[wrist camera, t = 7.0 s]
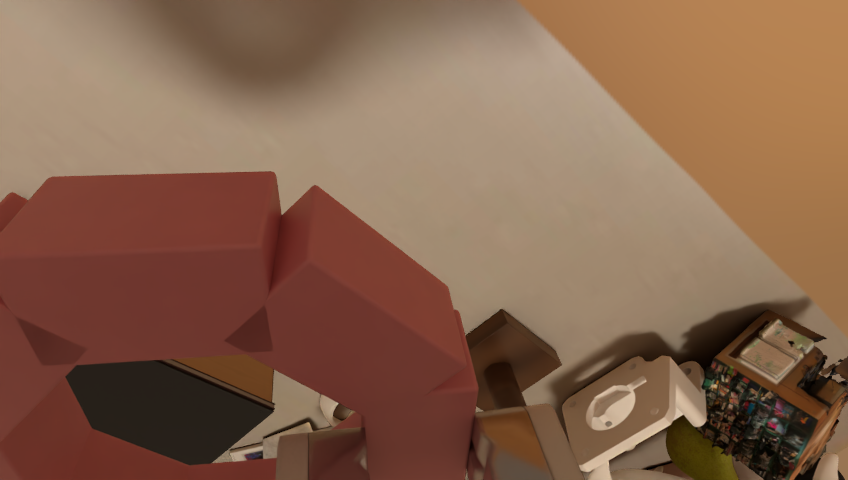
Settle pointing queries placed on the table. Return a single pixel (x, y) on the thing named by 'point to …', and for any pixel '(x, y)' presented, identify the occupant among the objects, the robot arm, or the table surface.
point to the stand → (507, 361)
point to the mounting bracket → (632, 407)
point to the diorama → (272, 441)
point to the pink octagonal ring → (220, 319)
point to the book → (176, 402)
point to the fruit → (697, 453)
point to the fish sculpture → (602, 476)
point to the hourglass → (674, 471)
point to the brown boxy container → (773, 398)
